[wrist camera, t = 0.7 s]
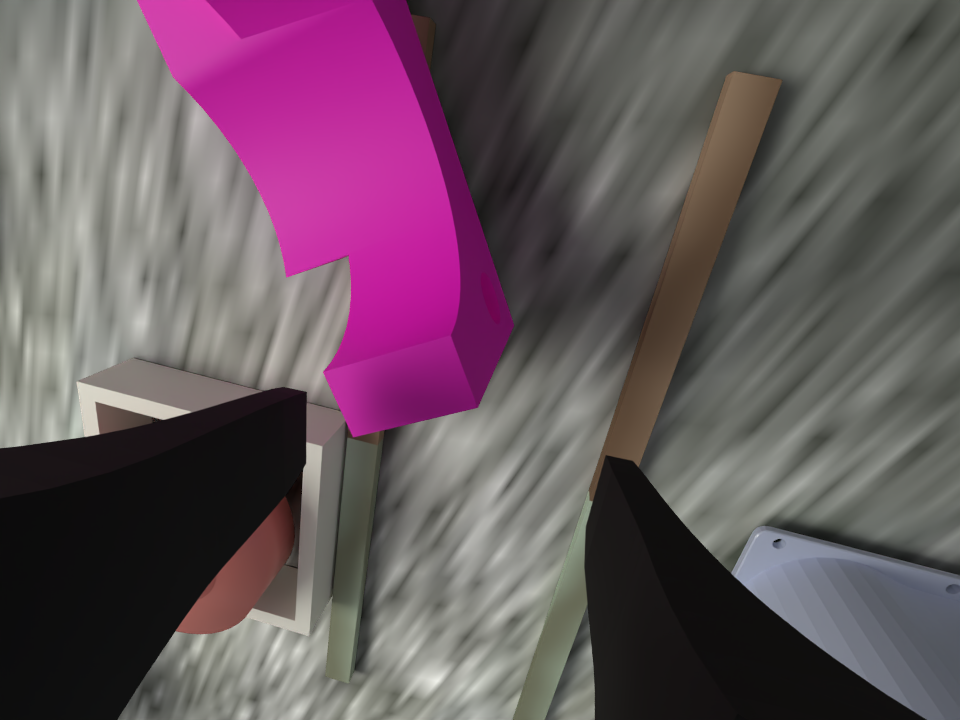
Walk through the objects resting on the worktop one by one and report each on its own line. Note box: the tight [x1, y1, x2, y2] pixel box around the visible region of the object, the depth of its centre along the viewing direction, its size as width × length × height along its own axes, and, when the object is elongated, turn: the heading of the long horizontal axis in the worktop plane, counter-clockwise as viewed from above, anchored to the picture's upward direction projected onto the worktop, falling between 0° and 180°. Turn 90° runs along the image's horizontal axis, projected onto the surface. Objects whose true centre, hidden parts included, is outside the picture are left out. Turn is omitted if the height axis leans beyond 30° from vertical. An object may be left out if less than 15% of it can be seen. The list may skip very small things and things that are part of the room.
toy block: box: [137, 0, 514, 437], centre depth 15 cm, size 15×6×8 cm, turn 20°
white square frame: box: [77, 358, 348, 636], centre depth 25 cm, size 12×12×3 cm
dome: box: [176, 497, 295, 634], centre depth 22 cm, size 9×9×6 cm
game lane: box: [325, 14, 782, 720], centre depth 23 cm, size 13×34×1 cm, turn 169°
